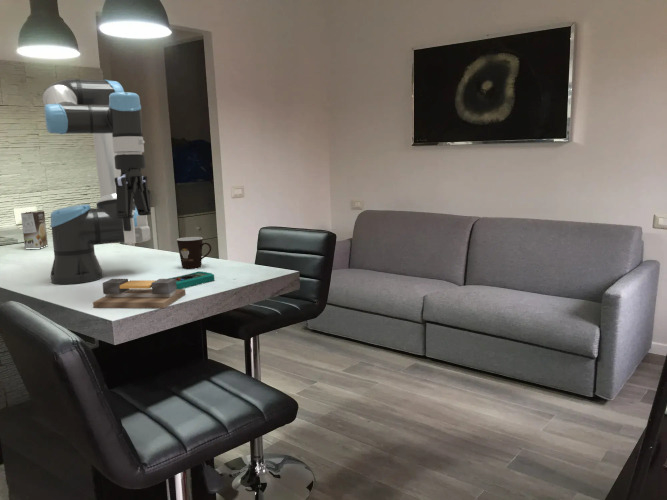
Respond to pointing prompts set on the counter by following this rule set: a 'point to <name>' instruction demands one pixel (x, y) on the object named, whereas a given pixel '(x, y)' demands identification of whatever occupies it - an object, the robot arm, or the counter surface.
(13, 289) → the counter surface
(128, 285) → the orange flat plate
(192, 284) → the digital multimeter
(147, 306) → the board
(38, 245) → the coffee box
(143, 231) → the usb wall charger
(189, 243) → the coffee mug
